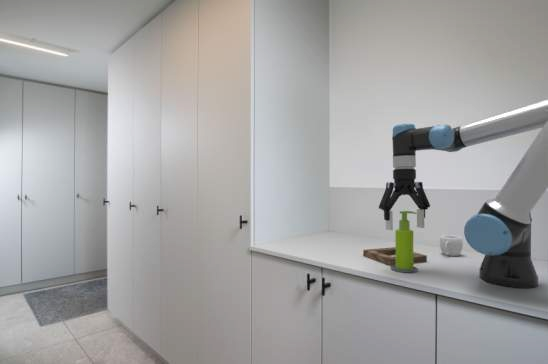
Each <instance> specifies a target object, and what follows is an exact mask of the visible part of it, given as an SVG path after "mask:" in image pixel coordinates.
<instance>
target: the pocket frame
mask: <svg viewBox="0 0 548 364" xmlns="http://www.w3.org/2000/svg"><path fill="white" fill-rule="evenodd" d="M362 255H363V257H366V258H367V259H368V258H369V259H372V260H374V261H376V262H379V263H381V264H384V265H386V266H390V267H391V266H392V265H396V246H393V247H383V248H382V247H381V248H380V247H379V248H370V249H363V254H362ZM427 259H428V255H426V254H422V253H419V252H415V251H413V264H419V263H421V264H423V263H427V262H428V260H427Z"/></svg>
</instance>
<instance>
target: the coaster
mask: <svg viewBox="0 0 548 364" xmlns="http://www.w3.org/2000/svg"><path fill="white" fill-rule="evenodd" d="M390 270H391V271H394V272H397V273H401V274H402V273H403V274H414V273H417V272H418V271H419V269H418V267H416V266H414V265H413V269H411V270H404V269H399V268H396V265H392V266H390Z"/></svg>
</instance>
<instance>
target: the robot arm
mask: <svg viewBox="0 0 548 364" xmlns="http://www.w3.org/2000/svg"><path fill="white" fill-rule="evenodd" d="M538 129H541V130H540V131H539V132H538V133H537V136H536V137H535V138H534V140H533V141H532V143H531V144H530V146H529V147H528V149H527V150H526V152H525V153H524V154H523V157H522V158H521V159H520V161H518V163H517V165H516V166H515V168H514V169H513V171H512V172H511V174H510V175H509V177H508V178H507V179H506V181H505V183H504V184H503V186H502V187H501V189H500V190H499V192H498V194H497V195H496V196H495V197H494V198H491V199H486V201H485V202H484V203H483V205H482V206H481V208H480V209H479V210H478V212H477V213H476V214H474V215H473V216H471V217H470V218H469V219H468V220H467V221H466V222H465V225H464V228H463V234H464V235H463V236H464V237H465V241H466V243H467V244H468V245H469V246H470V247H471V248H472V249H473V250H474V251H476V252H477V253H479V254H481V255H484V258H483V260H482V262H481V264H480V267H479V270H478V271H479V272H478V273H479V275H478V276H479V278H480V279H481V280H484V281H485V282H488V283H491V284H495V285H499V286H504V287H512V288H519V289H520V288H523V289H524V288H527V289H529V288H536V287H538V286H539V276H538V274H537V271H536V268H535V266H534V263H533V261H532V221H533V218H532V213H531V212H532V210H533V209H534V207H536V205H537V203H538V202H539V201H540V199H541V198H542V196H543V195H544V194H545V193H546V191H547V190H548V98H547V99H543V100H541V101H537V102H534V103H531V104H528V105H524V106H521V107H518V108H514V109H511V110H508V111H506V112H505V111H504V112H502V113H499V114H494V115H492V116H489V117H486V118H483V119H482V118H481V119H478V120H475V121H471V122H469V123H466V124H462V125H460V126H457V127H453V128H452V126H451V125H450V124H441V125H440V124H436V125H434V126H433V125H432V126H427V127H420V128H416V126H415V124H413V123H400V124H396V125H394V126H393V128H392V137H391V139H392V167H393V168H394V169H393V170H392V179H393V180H394V182H393V181H389V182H386V184H385V190H384V192H383V195H382V196H381V197H382V198H381V200H380V202H379V205H378V209H379V210H381V211H383V219H384V221H385V230H387V231H393V230H394V224H393V223H394V222H393V221H394V220H393V219H394V218H393V215H394V214H393V211H392V208H393V207H394V206H395V203H396V202H397V201H398V199H399V198H400V197H401V196H406V195H407V196H410V198H411V200H413V202H414V204H415V205H416V206H417V208H418V209H417V208H416V228H419V229H425V219H426V210H429V208H430V207H431V204H430V201H429V200H428V197H427V194H426V192H425V190H424V187H423V185H424V184H423V182H422V181H415V180H416V178H417V169H416V167H417V162H416V161H417V159H416V158H417V155H416V153H417V151H426V150H433V151H434V150H435V151H442V152H444V151H445V152H447V153H455V152H459V151H460V150H462V149H465V148H468V147H472V146H474V145H478V144H484V143H486V142H487V143H488V142H492V141H495V140H499V139H503V138H506V137H507V138H508V137H510V136H514V135H518V134H521V133H527V132H530V131H534V130H538Z"/></svg>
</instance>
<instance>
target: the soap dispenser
mask: <svg viewBox="0 0 548 364" xmlns="http://www.w3.org/2000/svg"><path fill="white" fill-rule="evenodd" d="M399 214H401V219H400V220H399V221H398V222H399V223H398V224H399V225H398V226H399V227H398V229H395V247H396V255H395V256H396V268H399V269H404V270H411V269H413V266H414V263H413V252H414V231H413V230H412V229H410V220H408V214H414V215H417V212H415V211H412V210H403V211H401V210H400V211H399Z"/></svg>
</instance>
